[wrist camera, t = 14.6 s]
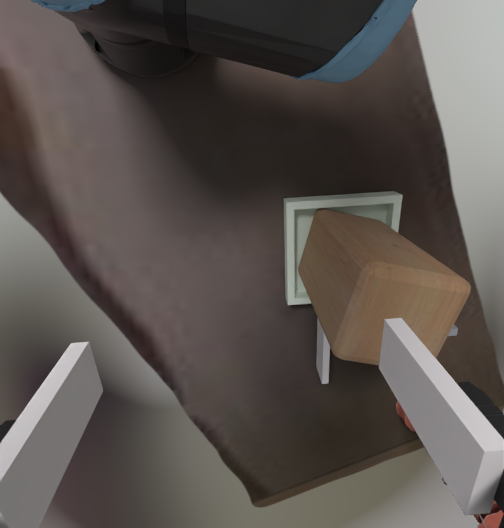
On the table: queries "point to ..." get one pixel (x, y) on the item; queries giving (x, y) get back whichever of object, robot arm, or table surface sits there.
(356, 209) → the tray
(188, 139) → the table surface
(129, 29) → the robot arm
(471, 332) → the table surface
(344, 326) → the wooden block
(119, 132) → the table surface
